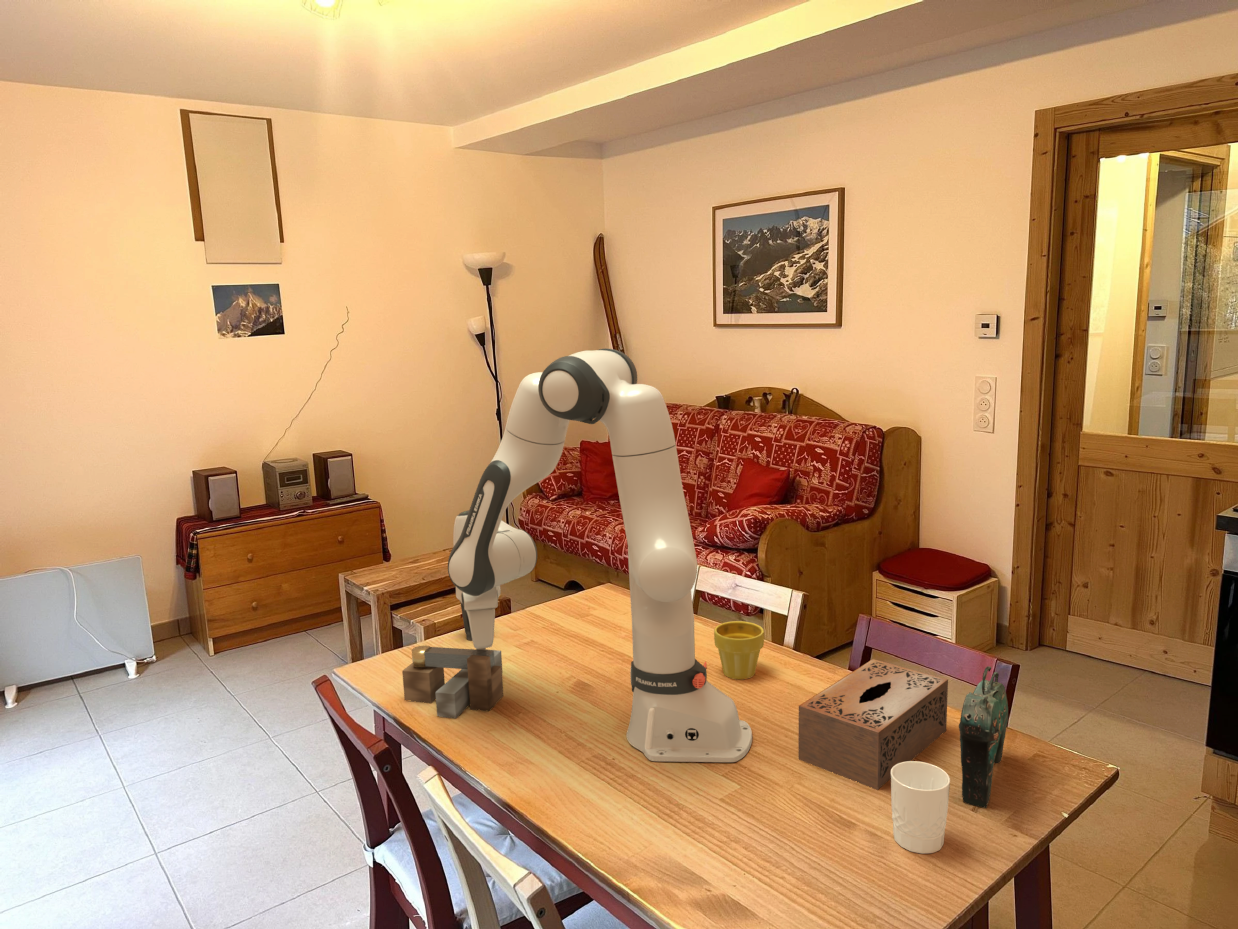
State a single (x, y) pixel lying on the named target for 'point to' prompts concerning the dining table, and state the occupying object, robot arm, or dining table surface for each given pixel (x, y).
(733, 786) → the dining table surface
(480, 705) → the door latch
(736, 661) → the plant pot
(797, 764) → the dining table surface
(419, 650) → the bar
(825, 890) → the dining table surface
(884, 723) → the tissue box cover
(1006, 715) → the dark green upright piece
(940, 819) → the white cup
